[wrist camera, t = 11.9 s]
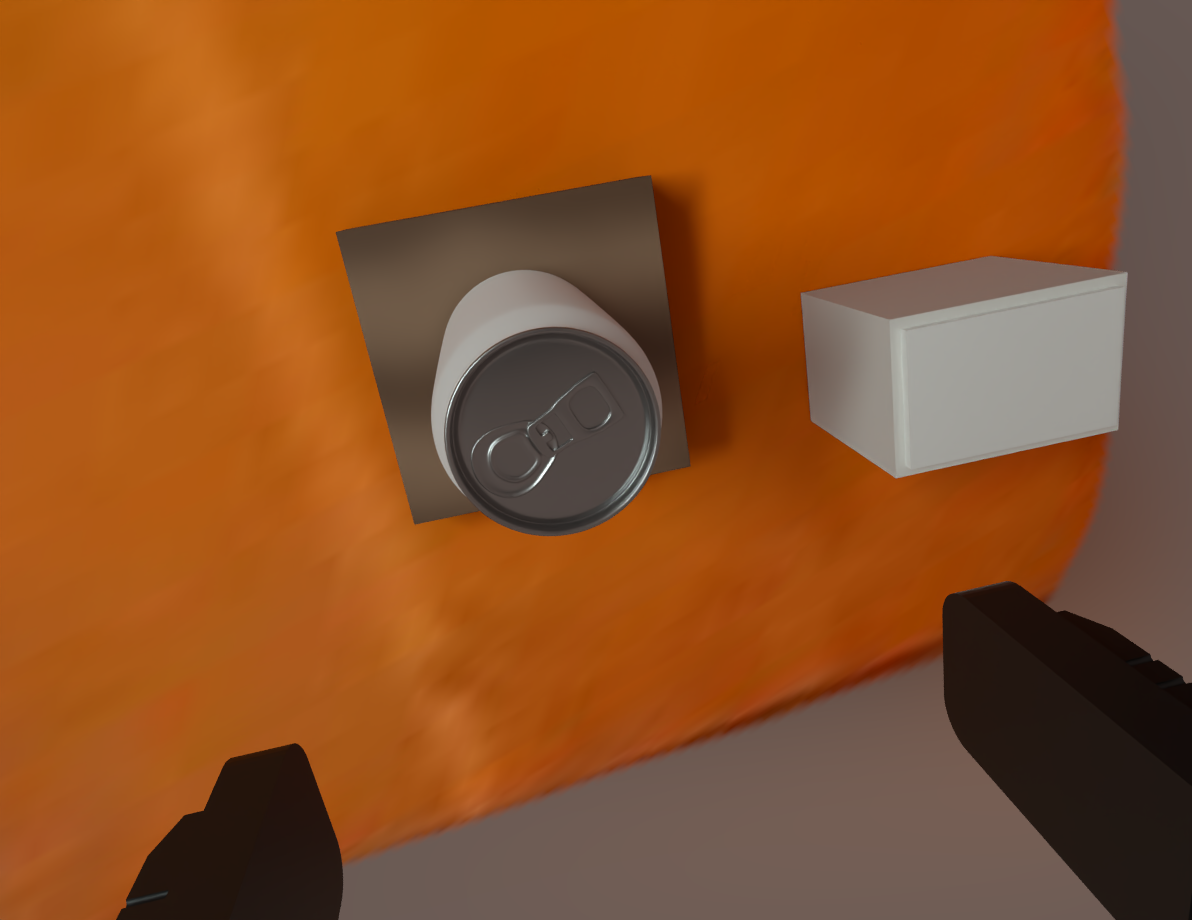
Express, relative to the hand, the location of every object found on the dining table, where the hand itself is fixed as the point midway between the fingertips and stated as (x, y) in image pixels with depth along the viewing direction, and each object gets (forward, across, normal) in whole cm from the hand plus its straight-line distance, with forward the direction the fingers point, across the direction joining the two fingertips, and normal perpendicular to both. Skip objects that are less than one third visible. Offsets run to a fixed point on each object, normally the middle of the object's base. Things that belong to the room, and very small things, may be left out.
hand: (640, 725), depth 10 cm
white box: (+26, -17, +3) cm, 31 cm away
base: (+26, 0, 0) cm, 26 cm away
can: (+24, 0, 0) cm, 24 cm away
